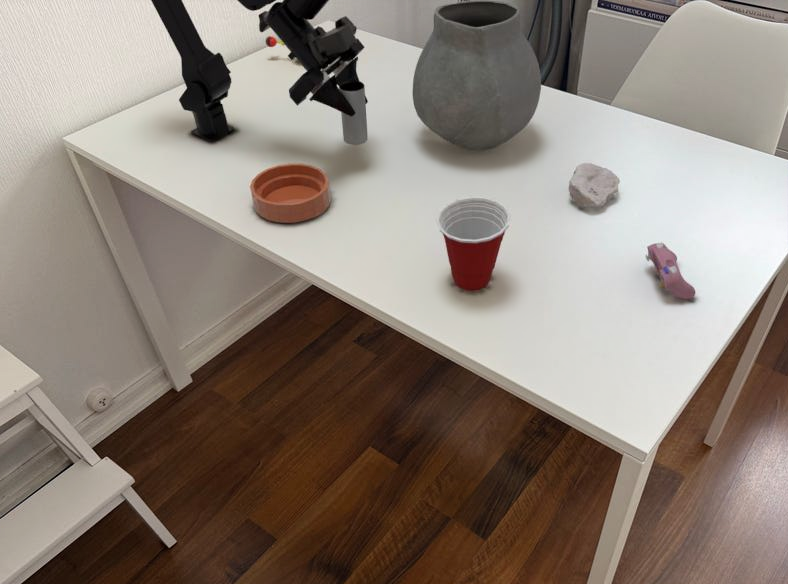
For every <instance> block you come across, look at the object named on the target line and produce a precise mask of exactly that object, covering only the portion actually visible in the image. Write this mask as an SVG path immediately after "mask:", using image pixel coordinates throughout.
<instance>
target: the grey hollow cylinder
mask: <svg viewBox="0 0 788 584" xmlns="http://www.w3.org/2000/svg"><path fill="white" fill-rule="evenodd" d="M338 88H339V90H340V91H341V92H342V94H343V95H344V96H345V98H346V99H347V101H348V102H349V103H350V105H351V106H352V108H353V109H354V111H355V115H354V116H352V117H351V116H349V115H347V114H345V113H342V112H340V115H341V126H342V138H343V141H344V143H346V144H348V145H350V146H351V145H352V146H360V145H363V144H365V143H366V142H367V141H368V139H369V137H368V121H367V120H368V119H367V104H366V102H365V96H366V85H365V84H364V83H363V82H362V81H360V80H359V81H356V80H349V81H344V82H342V83H341V84H340V85H339V86H338Z"/></svg>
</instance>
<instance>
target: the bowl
mask: <svg viewBox="0 0 788 584" xmlns="http://www.w3.org/2000/svg"><path fill="white" fill-rule="evenodd" d="M249 188H250V193H251V198H252V202H253V206H254V210H255V212H256V213H257V214H258V215H259V216H260V217H262V218H264V219H265V220H267V221H270V222H275V223H282V224H283V223H285V224H288V223H289V224H291V223H292V224H293V223H299V222H304V221H308V220H311V219H313V218H316V217H318V216H319V215H321V214H323V213H324V212H325V211H326V210H327V209H328V208H329V206H330V204H331V199H332V195H331V194H332V193H331V186H330V179H329V178H328V175H327V173H326V172H325V171H323V170H322V169H321V168H318V167H316V166H314V165H311V164H306V163H284V164H278V165H275V166H271V167H269V168H266V169H265V170H262V171H260V172H259V173H258V174H256V176H255V177H254V178H253V179H252V180H251V183H250V185H249Z"/></svg>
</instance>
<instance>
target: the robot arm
mask: <svg viewBox="0 0 788 584" xmlns="http://www.w3.org/2000/svg"><path fill="white" fill-rule="evenodd" d="M150 1H151V3H152V5H153V7H154V8H155V11H156V13H157V14H158V16H159V18H160V20H161V22H162V24H163V26H164V28H165V29H166V32H167V33H168V35H169V37H170V40H171V41H172V43H173V45H174V47H175V49H176V50H177V52H178V54H179V56H180V60H181V61H180V62H181V77H182V80H183V82H184V84H185V87H186V88H185V90H184V91H183V93H182V94H181V96H180V97H179V98H178V101H179V103H180V105H181V107H182V109H183V111H187V112H191V113H192V115H193V120H194V123H195V126H196V127H195V128H194V129H191V130H190V132H191V134H192V135H194V136H196V137H199V138H201V139H203V140H205V141H208V142H211V143H212V142H215V141H218V140H219V139H221V138H223V137H225V136H227V135H229V134H231V133H233V132H235V127H234V126H231V125H229V124H228V120H227V114H226V113H225V108H224V105H223V103H222V101H223V100H224V99H226V98H227V97H228V96H229V90H230V88H231V85H232V78H231V77H232V76H231V75H230V74H231V73H232V71H231V70H230V69H229V68H228V66H227V64H226V62H225V59H224V56H223V55H222V54H221V53H220V52H217V53H216V54H215V53H214V52H212V50H210V49H209V48H207V47H206V46H205V44H204V42H203V40H202V38H201V36H200V34H199V32H198V30H197V27H196V26H195V24H194V22H193V20H192V18H191V15H190V14H189V12H188V10H187V8H186V6H185V4H184V2H183V0H150ZM276 1H277V0H237V2H238V3H240V5H242V6H243V8H245V9H246V10H249V11H252V12H254V11H260V10H261V9H263V8H265V7H267V6H268V5H271V4H272V3H273V4H272V5H271V7H270V8H269V10H268V11H267V10H264V11H262V12H260V13H258V19H259V23H258V29H259V32H260V33H264V32H265V31H267V30H269V29H271V30H272V31H273V33H274V34H275V35H276V36H277V37H278V38H279V40H280V41H282V42H283V43H284V44H285V45H284V46H285V47H286V48H287V49H288V51H289V53H288V55H287V57H288V58H289V60H290V61H294V60H295V59H296V60H297V62H298V63H299V64H300V65H301V66H302V67H303V68H304V69H305V71H306V72H304V73H303V74H302V75H300V77H298V78H297V80H296V81H295V82H294V83H293V84H292V85H291V87H290V88H289V89H288V93H289V98H290V99H291V100H292V102H293V103H294V104H295V105H296V107H297V106H299V105H300V104H302V103H303V102H304V101H305V100H306V99H307V97H308V96H309V94H310V93H311V94H312V95H311V96H310V97H309V99H308V100H309V101H310V102H313V101H315V102H316V103H319V104H322V105H325V106H328V107H330V108H332V109H334V110H336V111H338V112H340V113H341V112H342V113H345V114H347V115H349V116H351V117H352V116H354V115H355V111H354V109H353V108H352V106H351V105H350V103H349V102H348V101H347V99H346V98H345V96H344V95H343V94H342V92H341V91H340V90H339V85H340V84H341V83H342V82H344V81H349V80H356V81H360V78H359V76H358V72H357V66H358V65H357V64H358V63H357V62H358V61H359V56H358V55H359V54H360V53H362V51H363V50H364V49H365V46H364V44H363V43H362V42H361V41H360V39H359V38H357V37H356V34H357V30H358V28H357V26H356V25H355V24H354V23H353V22H352V21H351V20H350V19H349V17H348V16H347V15H345V16H343V17H340V18H338V19H337V20H335V21H334V24H335V25H334V27H333V28H332V29H331V30H328V31H326V30H325V29H324V28H323V27H322V26H320V25H318V26H317V27H314V26H313V24H311V22H310V20H311V21H312V20H314V19H315V18H316V17H317V15H318V14H319V13H320V12H321V11H322V10H323V8H324V7H325V6H326V5H327V3H329V2H330V0H282V1H277V2H276ZM332 73H333V75H332V76H331V77H330V75H331V74H332ZM365 102H366V105H367V104H368V103H369V100H368V97H367V96H366V95H365Z"/></svg>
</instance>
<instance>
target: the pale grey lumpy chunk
mask: <svg viewBox="0 0 788 584" xmlns="http://www.w3.org/2000/svg"><path fill="white" fill-rule="evenodd" d="M568 182H569V183H568V194H569V196H570V198H571V200H572V201H573V202H574V203H575V204H576V205H578V206H580V207H582V208H589V209H590V208H599V207H603V206H604V205H606V203H607V202H609V201H610V200H612V199H613V198H614V194H616V193H618V191H619V184H620V182H621V180H620V178H619V177H618V175H617V174H615V173H614V172H613V171H612V170H610V169H608V168H607V167H602V166H600V165H596V164H595V163H591V162H583V163H580V164H578V165H577V166H576V167H575V170H574V171H573V175H572V177H571V179H570V180H569V181H568Z"/></svg>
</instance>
